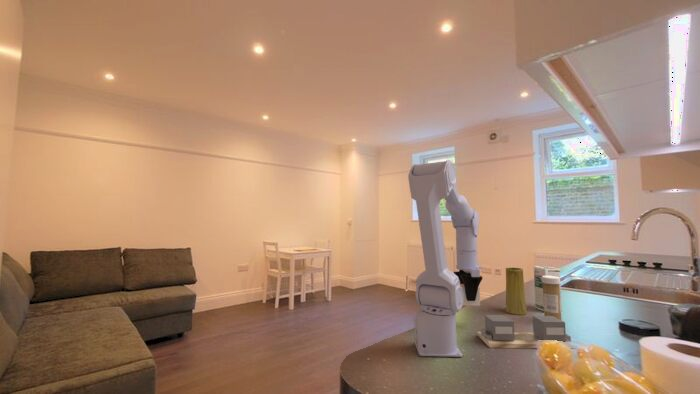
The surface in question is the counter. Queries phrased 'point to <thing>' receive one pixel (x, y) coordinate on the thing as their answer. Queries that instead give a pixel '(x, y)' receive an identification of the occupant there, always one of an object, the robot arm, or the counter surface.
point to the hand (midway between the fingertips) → (468, 298)
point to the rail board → (504, 336)
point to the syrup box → (538, 285)
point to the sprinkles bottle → (551, 296)
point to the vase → (515, 291)
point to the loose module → (470, 303)
